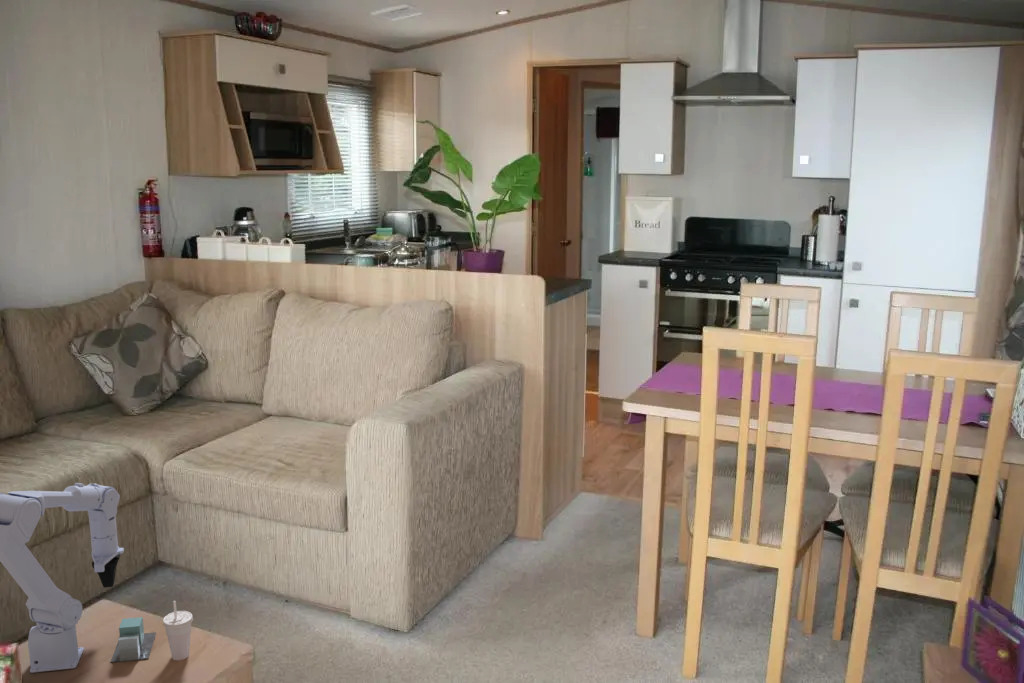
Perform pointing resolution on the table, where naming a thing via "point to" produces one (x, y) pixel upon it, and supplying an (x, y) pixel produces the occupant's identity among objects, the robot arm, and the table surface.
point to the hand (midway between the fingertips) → (108, 586)
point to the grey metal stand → (133, 647)
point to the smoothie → (178, 632)
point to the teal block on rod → (132, 627)
